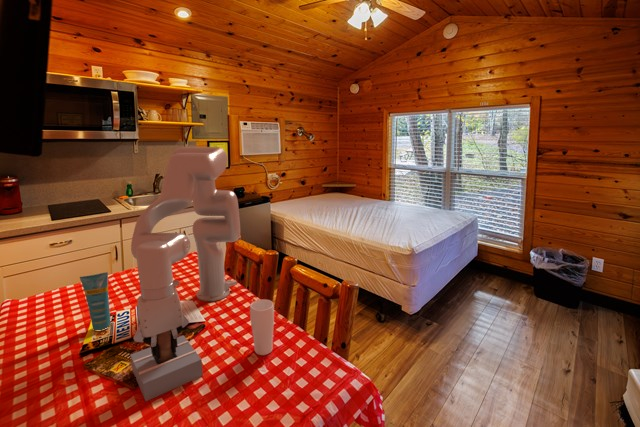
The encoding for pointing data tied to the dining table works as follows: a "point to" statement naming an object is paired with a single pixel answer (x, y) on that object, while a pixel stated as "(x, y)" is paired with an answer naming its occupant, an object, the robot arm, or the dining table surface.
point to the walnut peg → (164, 346)
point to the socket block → (166, 369)
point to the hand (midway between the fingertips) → (165, 352)
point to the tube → (97, 299)
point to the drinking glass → (262, 325)
